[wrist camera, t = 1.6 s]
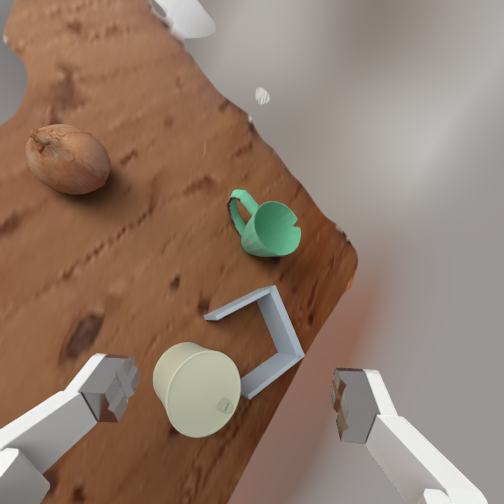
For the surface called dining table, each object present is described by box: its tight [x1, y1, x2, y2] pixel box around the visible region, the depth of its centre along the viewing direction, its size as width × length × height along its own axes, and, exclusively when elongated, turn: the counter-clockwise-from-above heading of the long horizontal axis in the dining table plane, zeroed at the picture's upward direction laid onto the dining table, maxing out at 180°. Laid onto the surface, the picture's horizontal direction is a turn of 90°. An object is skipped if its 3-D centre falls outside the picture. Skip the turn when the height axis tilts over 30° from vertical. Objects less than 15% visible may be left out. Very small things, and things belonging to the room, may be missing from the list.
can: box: [153, 342, 241, 438], centre depth 33 cm, size 9×9×12 cm
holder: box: [204, 285, 305, 400], centre depth 42 cm, size 12×14×6 cm
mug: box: [227, 190, 301, 257], centre depth 45 cm, size 15×10×10 cm
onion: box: [25, 124, 110, 194], centre depth 34 cm, size 10×9×10 cm
